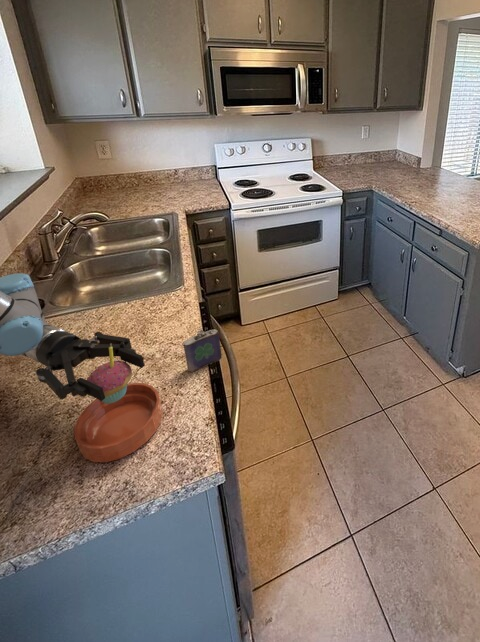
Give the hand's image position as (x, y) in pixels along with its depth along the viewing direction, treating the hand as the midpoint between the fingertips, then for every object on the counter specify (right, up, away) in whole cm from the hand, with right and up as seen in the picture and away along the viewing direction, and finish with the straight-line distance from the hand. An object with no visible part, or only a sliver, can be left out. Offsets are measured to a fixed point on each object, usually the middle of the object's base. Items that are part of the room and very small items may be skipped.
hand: (123, 377), depth 72 cm
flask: (+8, -8, +25) cm, 27 cm away
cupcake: (-4, -6, +4) cm, 8 cm away
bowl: (-4, -14, +7) cm, 16 cm away
